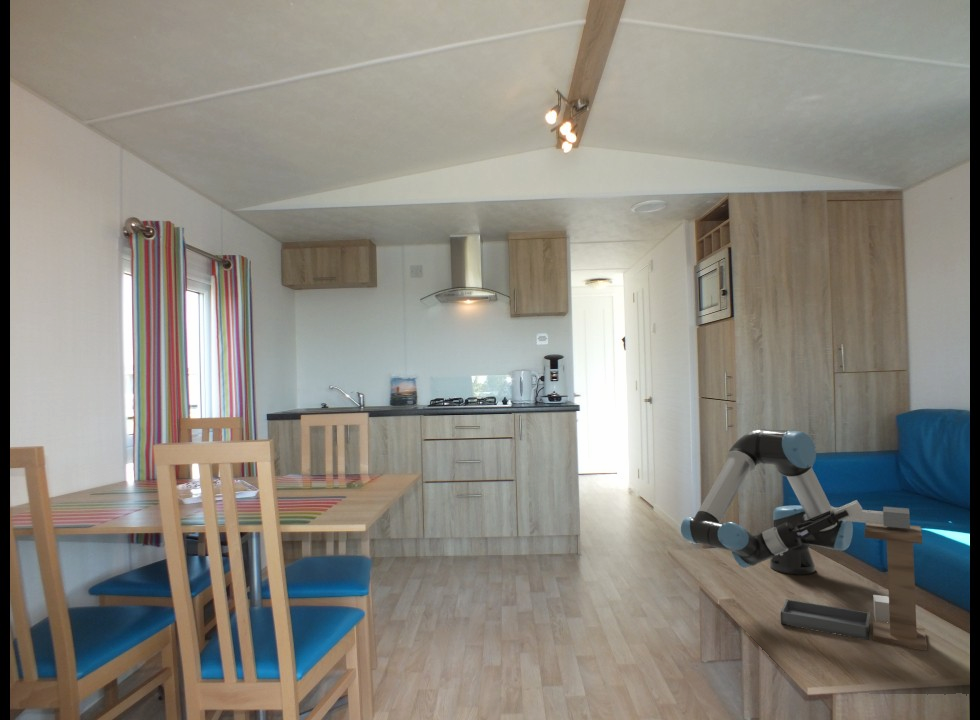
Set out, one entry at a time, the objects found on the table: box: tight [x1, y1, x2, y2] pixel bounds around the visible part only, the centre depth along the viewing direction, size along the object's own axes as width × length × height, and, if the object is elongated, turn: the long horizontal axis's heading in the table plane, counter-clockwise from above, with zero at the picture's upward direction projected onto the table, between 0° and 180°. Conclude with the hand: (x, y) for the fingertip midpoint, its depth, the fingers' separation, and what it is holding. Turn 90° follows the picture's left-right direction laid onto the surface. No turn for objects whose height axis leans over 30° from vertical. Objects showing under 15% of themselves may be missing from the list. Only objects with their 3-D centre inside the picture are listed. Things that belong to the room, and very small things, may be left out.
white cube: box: [872, 594, 890, 623], centre depth 182 cm, size 6×6×6 cm
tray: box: [780, 598, 871, 641], centre depth 179 cm, size 12×22×4 cm, turn 57°
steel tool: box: [830, 506, 911, 529], centre depth 174 cm, size 7×19×4 cm, turn 57°
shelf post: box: [864, 523, 928, 652], centre depth 170 cm, size 12×13×30 cm
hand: (859, 505), depth 175 cm, fingers closed on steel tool, 3 cm apart
